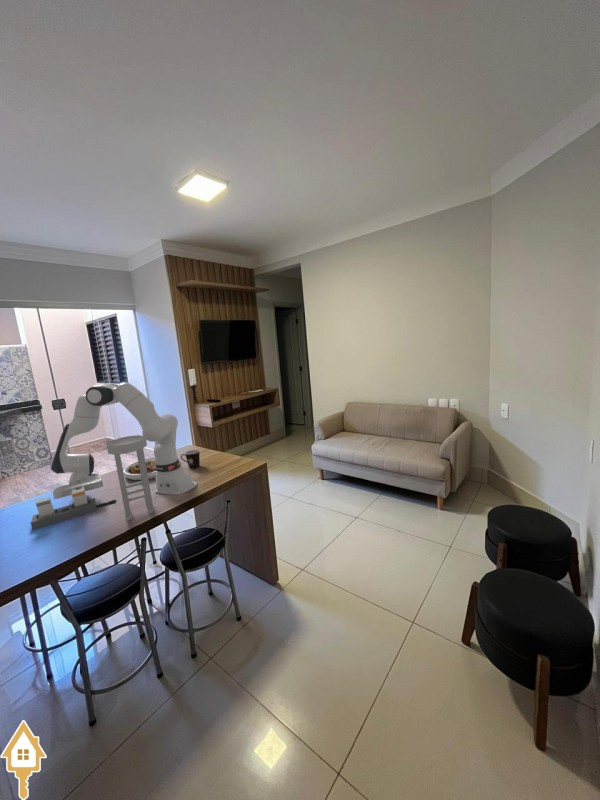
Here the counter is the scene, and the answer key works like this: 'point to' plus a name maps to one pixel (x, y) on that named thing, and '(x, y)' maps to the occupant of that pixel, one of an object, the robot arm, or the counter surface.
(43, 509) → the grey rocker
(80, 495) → the white upright block
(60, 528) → the counter surface
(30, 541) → the counter surface
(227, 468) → the counter surface
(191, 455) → the coffee mug
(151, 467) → the bowl
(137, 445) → the stool
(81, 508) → the power strip
